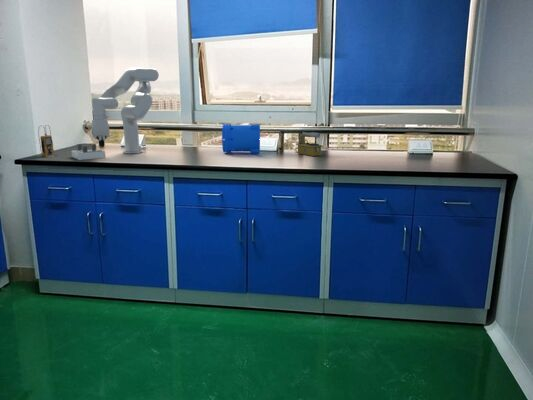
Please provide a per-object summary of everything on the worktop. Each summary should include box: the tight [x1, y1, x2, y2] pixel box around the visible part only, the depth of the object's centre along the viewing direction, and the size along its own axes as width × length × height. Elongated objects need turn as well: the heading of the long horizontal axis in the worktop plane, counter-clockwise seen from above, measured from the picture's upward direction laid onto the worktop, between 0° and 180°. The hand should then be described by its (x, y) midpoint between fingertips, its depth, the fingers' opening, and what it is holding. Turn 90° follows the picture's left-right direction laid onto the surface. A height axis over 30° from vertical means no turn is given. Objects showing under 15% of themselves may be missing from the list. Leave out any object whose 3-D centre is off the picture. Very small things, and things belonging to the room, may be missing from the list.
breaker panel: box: [71, 148, 106, 161], centre depth 283 cm, size 16×16×4 cm
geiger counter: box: [294, 131, 324, 157], centre depth 301 cm, size 9×26×15 cm, turn 35°
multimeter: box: [38, 125, 59, 159], centre depth 285 cm, size 15×10×20 cm
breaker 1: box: [76, 143, 83, 150], centre depth 284 cm, size 2×2×4 cm
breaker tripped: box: [90, 143, 97, 150], centre depth 284 cm, size 2×2×4 cm
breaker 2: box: [82, 145, 88, 152], centre depth 275 cm, size 2×2×4 cm
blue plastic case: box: [221, 123, 261, 154], centre depth 306 cm, size 25×22×19 cm
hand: (102, 146), depth 287 cm, fingers closed
